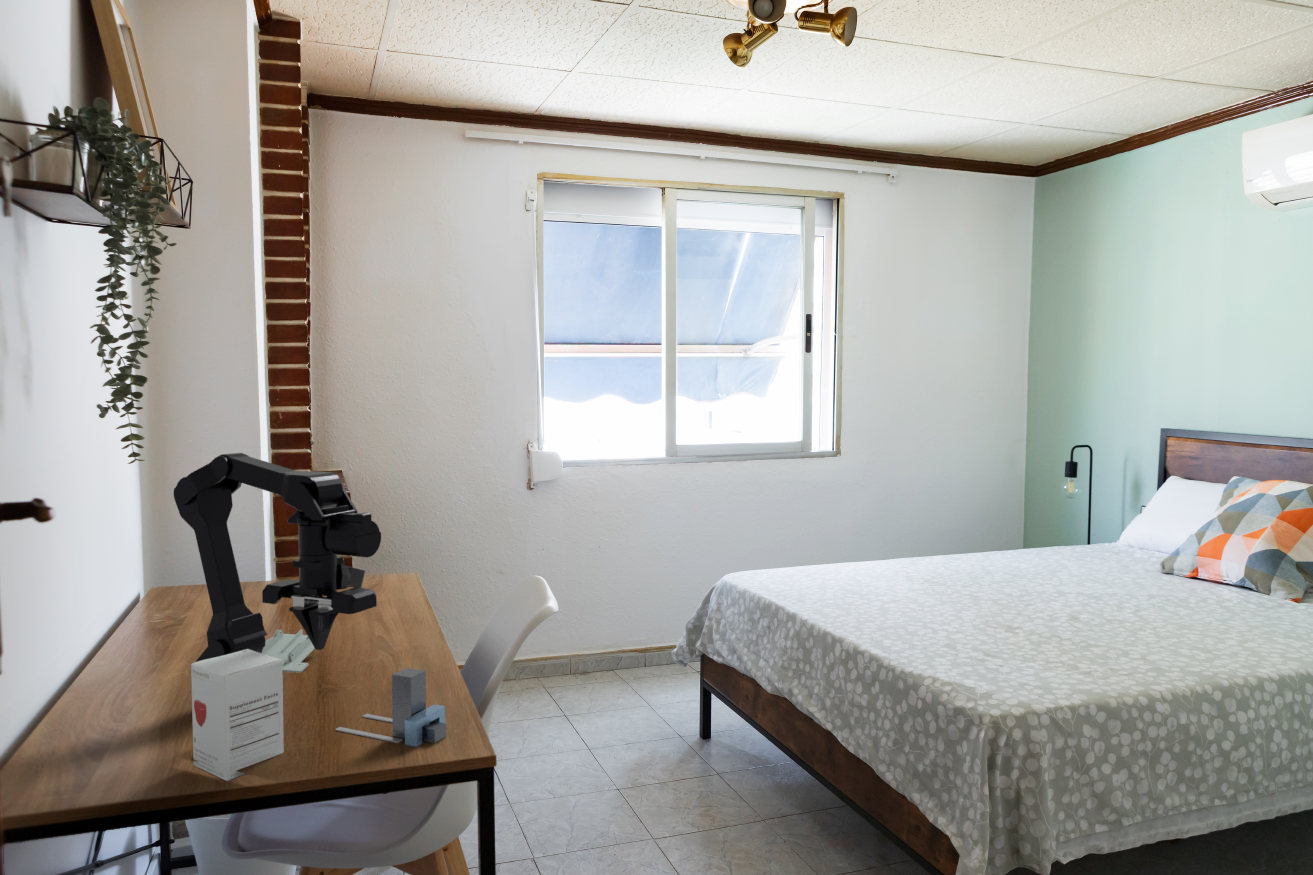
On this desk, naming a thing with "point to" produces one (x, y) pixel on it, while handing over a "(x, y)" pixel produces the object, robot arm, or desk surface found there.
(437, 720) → the blue gray railed fixture
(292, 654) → the metal bracket
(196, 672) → the supplement box
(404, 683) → the tall gray pillar
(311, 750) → the desk surface
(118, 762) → the desk surface
